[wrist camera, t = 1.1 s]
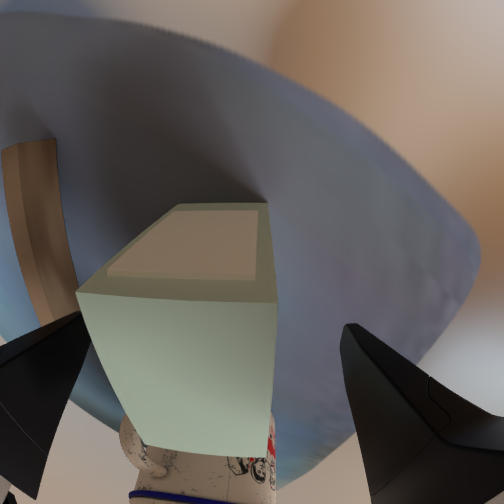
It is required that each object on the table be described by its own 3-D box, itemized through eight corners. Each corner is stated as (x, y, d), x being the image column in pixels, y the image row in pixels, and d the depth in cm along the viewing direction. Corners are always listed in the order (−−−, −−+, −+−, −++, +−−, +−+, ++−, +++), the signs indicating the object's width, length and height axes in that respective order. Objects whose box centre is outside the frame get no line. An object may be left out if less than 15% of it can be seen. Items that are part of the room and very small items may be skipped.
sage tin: (267, 199, 12) (278, 296, 5) (265, 319, 14) (265, 459, 7) (178, 200, 12) (73, 286, 5) (190, 317, 14) (145, 445, 7)
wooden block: (93, 331, 15) (72, 361, 12) (75, 328, 15) (53, 355, 13) (55, 139, 11) (17, 143, 8) (37, 144, 11) (0, 150, 8)
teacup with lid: (295, 431, 18) (303, 559, 8) (202, 448, 20) (185, 554, 10) (215, 332, 15) (171, 548, 4) (110, 367, 16) (44, 499, 6)
